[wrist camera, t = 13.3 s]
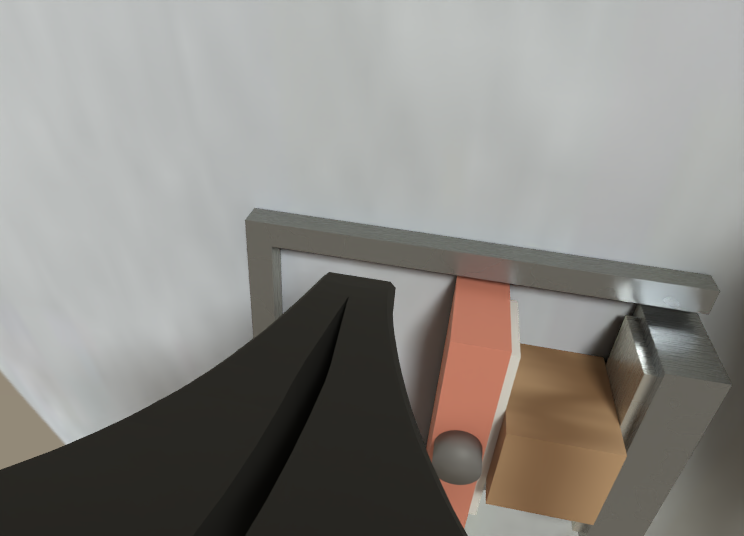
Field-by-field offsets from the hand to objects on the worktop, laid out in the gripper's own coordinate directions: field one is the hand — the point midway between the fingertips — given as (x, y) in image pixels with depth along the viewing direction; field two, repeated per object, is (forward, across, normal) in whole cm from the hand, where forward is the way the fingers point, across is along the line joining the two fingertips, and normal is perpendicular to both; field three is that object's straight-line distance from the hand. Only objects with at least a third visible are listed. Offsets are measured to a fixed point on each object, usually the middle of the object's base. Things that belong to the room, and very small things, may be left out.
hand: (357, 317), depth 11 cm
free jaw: (+10, -3, +10) cm, 14 cm away
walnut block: (+10, -7, +10) cm, 16 cm away
